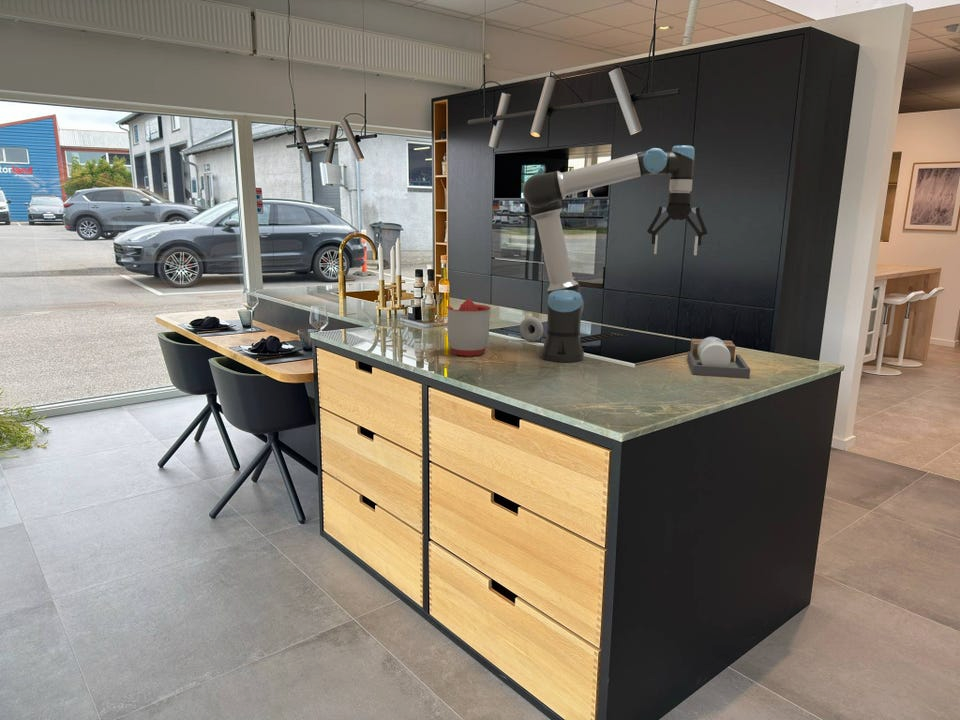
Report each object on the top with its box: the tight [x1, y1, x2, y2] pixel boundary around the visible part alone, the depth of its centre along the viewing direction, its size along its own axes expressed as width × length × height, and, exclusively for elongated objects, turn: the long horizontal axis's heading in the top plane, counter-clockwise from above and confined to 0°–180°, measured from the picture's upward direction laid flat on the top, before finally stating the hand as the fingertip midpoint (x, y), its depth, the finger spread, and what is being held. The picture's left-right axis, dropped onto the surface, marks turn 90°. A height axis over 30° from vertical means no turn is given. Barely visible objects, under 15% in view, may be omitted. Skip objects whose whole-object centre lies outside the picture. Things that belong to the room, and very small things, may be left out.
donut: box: [519, 316, 544, 343], centre depth 268 cm, size 10×4×10 cm, turn 61°
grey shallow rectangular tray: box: [686, 351, 751, 379], centre depth 229 cm, size 22×17×3 cm
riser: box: [689, 338, 736, 362], centre depth 243 cm, size 10×14×6 cm
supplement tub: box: [697, 336, 731, 367], centre depth 227 cm, size 10×10×15 cm
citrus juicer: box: [446, 298, 491, 357], centre depth 244 cm, size 16×17×20 cm
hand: (675, 254), depth 239 cm, fingers open, 13 cm apart
